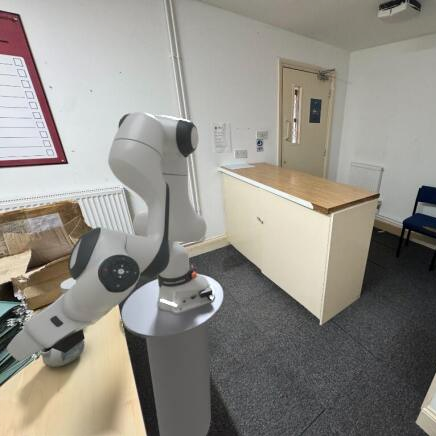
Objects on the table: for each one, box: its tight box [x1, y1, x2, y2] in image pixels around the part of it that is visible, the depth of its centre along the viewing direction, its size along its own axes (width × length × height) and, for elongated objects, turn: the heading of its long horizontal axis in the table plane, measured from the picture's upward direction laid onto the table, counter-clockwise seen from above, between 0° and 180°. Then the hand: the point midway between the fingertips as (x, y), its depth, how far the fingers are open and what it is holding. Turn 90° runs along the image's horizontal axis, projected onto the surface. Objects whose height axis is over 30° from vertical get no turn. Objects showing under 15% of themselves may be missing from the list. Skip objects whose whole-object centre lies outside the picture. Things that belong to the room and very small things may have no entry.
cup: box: [59, 277, 76, 295], centre depth 89 cm, size 8×8×12 cm
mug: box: [38, 339, 86, 368], centre depth 69 cm, size 10×12×10 cm
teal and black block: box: [51, 329, 85, 353], centre depth 56 cm, size 4×4×9 cm
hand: (61, 327), depth 55 cm, fingers closed on teal and black block, 4 cm apart
